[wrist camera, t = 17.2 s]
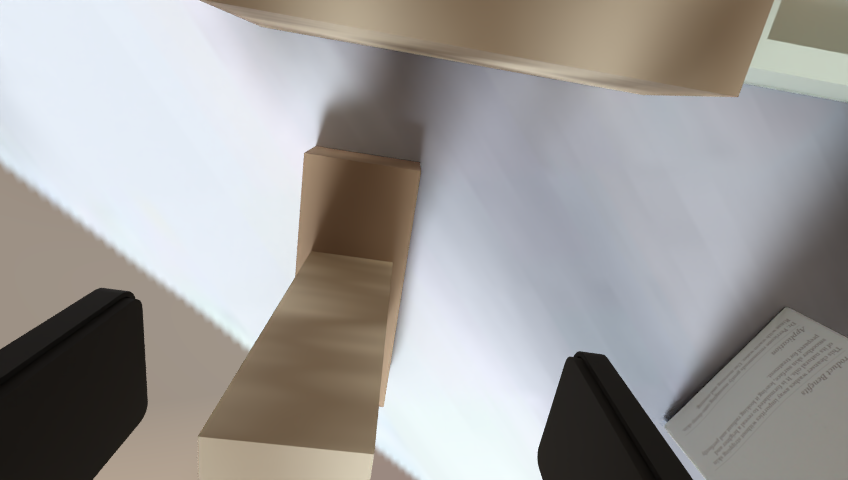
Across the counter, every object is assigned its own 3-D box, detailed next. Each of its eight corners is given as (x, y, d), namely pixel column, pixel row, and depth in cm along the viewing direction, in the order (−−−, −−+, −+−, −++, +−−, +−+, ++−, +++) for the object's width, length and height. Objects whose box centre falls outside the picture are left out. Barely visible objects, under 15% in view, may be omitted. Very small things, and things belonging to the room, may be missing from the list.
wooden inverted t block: (419, 162, 17) (435, 276, 7) (386, 376, 20) (360, 684, 10) (316, 145, 17) (160, 239, 6) (298, 367, 20) (175, 672, 9)
